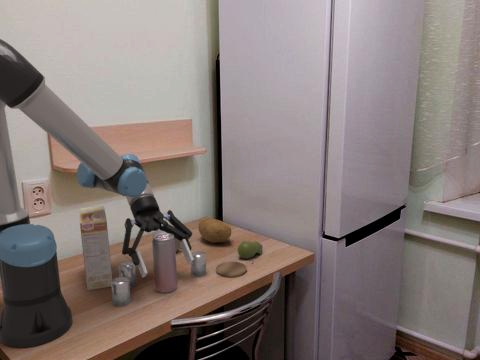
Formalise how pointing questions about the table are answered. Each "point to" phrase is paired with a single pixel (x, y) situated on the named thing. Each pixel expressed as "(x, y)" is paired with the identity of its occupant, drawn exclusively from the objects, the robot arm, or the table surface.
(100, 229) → the coffeecake box
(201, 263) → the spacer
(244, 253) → the pear
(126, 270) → the cylinder
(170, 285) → the beverage can
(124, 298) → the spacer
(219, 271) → the coaster
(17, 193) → the robot arm
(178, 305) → the table surface
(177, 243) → the ceramic mug
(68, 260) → the table surface
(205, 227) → the potato
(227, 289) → the table surface
